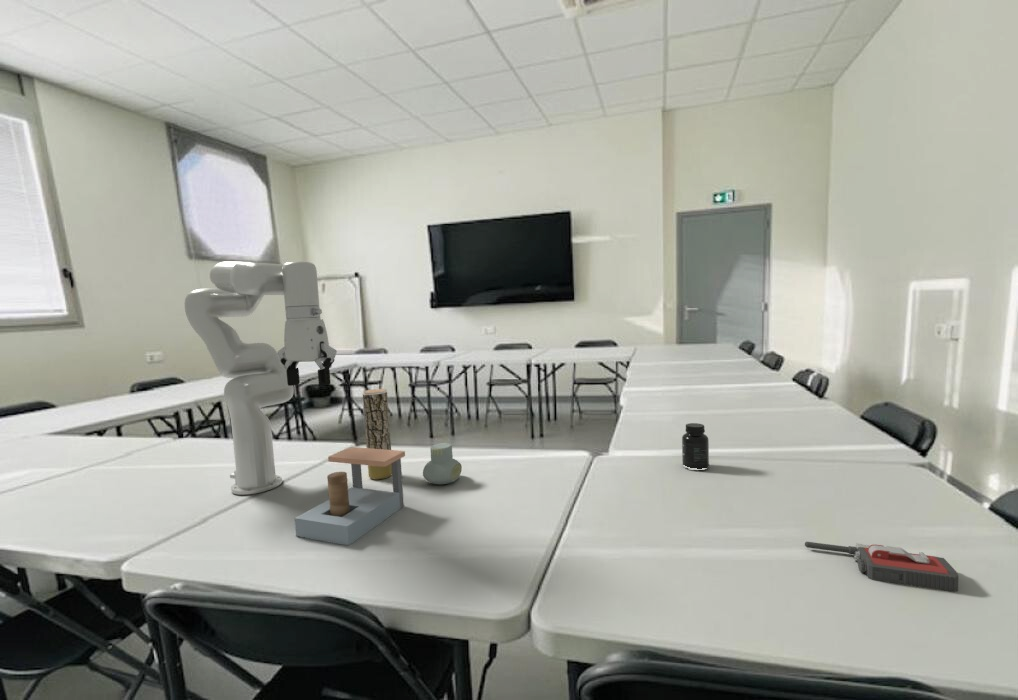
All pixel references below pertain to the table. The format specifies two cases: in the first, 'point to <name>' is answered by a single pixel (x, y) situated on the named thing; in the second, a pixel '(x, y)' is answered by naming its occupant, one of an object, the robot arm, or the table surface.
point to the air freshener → (442, 465)
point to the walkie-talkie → (899, 565)
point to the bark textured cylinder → (377, 428)
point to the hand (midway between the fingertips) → (309, 385)
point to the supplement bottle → (695, 447)
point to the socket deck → (356, 500)
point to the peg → (338, 494)
